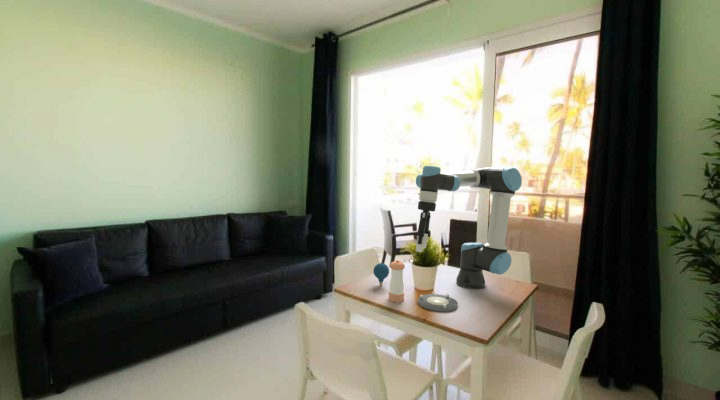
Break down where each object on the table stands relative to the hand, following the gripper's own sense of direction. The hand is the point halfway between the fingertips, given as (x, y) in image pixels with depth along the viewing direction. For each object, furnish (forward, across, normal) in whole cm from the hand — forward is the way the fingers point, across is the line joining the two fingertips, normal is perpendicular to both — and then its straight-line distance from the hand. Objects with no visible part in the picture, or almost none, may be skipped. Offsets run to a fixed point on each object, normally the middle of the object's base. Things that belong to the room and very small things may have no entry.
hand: (421, 249), depth 144 cm
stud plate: (+26, -13, +9) cm, 30 cm away
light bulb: (+27, -27, -22) cm, 44 cm away
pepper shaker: (+27, -11, -10) cm, 31 cm away
